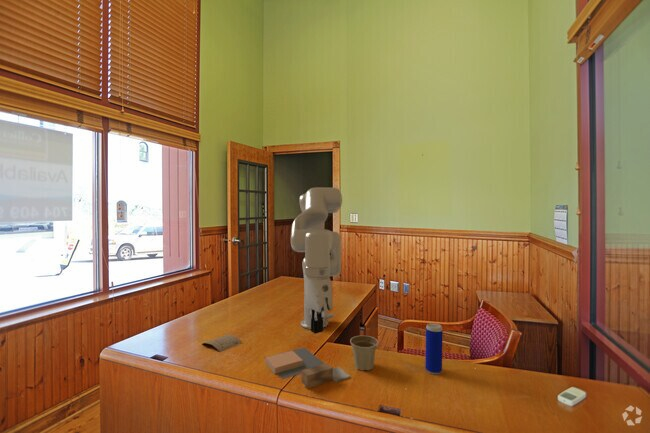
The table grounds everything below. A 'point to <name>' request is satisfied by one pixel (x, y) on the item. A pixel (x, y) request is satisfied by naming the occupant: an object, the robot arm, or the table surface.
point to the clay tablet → (225, 342)
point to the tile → (284, 362)
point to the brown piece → (322, 375)
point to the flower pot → (364, 351)
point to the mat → (308, 362)
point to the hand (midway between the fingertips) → (316, 331)
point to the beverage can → (434, 348)
